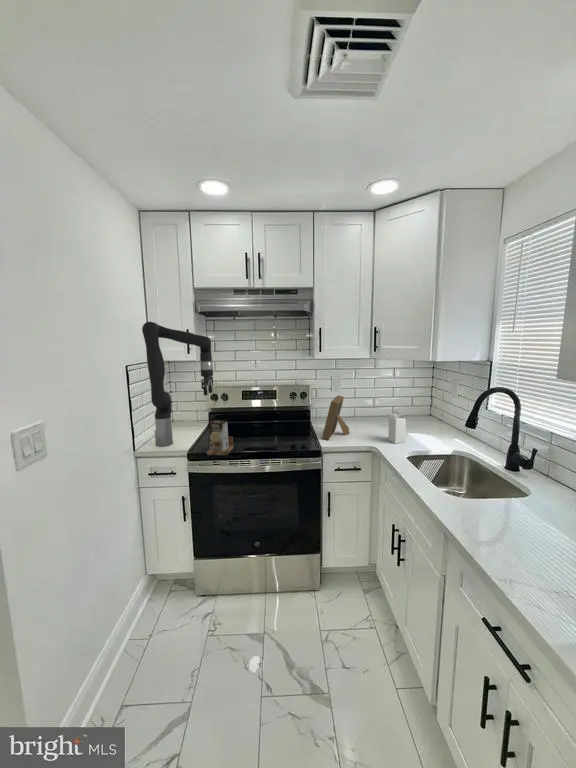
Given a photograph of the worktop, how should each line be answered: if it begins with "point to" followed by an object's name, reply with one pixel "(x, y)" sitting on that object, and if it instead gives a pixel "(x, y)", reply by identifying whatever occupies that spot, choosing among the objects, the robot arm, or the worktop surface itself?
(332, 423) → the photo frame
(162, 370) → the robot arm
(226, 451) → the ledge
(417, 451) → the worktop surface
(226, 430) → the coffee box
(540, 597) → the worktop surface
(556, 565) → the worktop surface
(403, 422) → the milk carton
